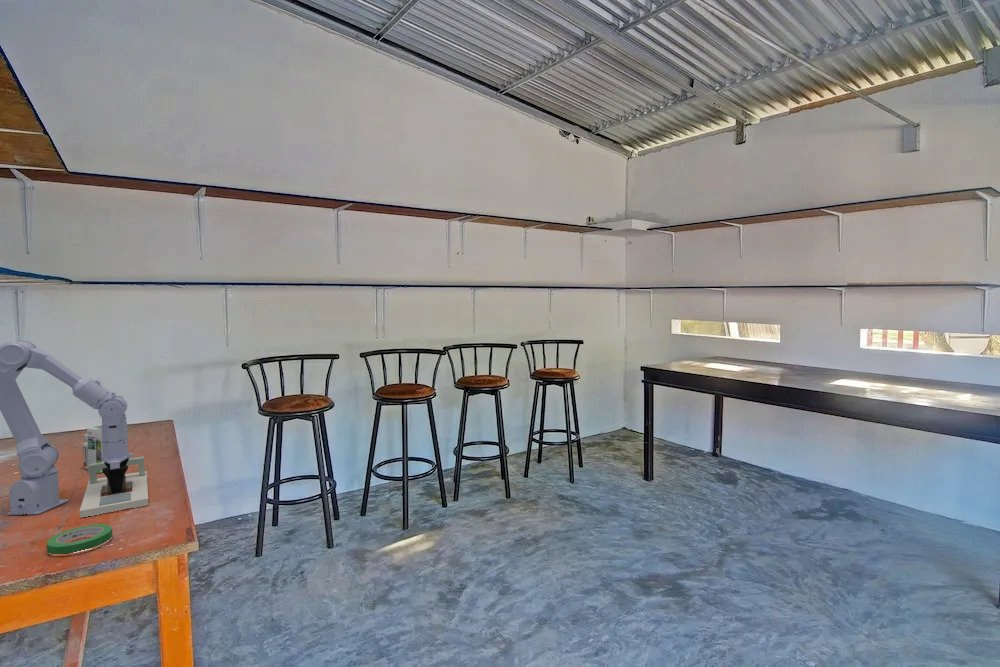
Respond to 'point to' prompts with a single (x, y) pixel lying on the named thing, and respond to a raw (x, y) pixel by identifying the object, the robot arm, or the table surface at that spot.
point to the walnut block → (117, 492)
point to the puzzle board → (114, 496)
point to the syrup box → (94, 445)
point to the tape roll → (59, 547)
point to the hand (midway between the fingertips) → (117, 488)
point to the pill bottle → (85, 453)
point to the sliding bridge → (101, 465)
